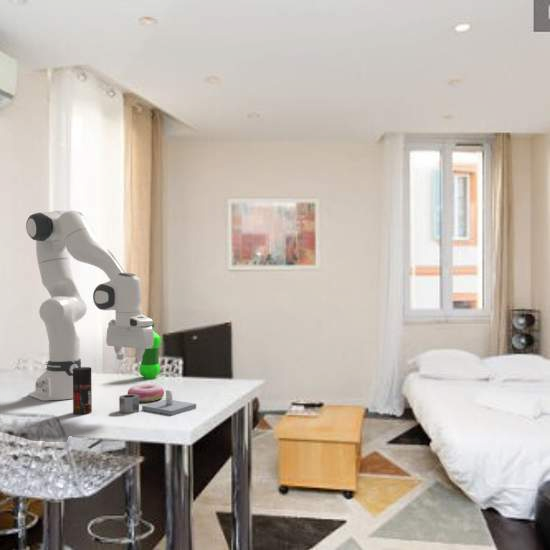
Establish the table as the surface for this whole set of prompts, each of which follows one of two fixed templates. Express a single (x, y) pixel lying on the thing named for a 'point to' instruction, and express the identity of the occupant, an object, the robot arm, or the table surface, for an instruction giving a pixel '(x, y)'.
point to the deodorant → (82, 391)
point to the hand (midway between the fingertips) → (129, 360)
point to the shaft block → (169, 405)
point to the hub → (129, 403)
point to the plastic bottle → (151, 359)
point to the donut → (147, 392)
